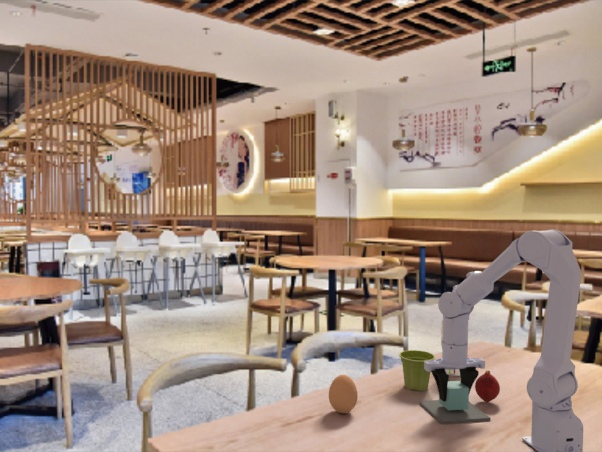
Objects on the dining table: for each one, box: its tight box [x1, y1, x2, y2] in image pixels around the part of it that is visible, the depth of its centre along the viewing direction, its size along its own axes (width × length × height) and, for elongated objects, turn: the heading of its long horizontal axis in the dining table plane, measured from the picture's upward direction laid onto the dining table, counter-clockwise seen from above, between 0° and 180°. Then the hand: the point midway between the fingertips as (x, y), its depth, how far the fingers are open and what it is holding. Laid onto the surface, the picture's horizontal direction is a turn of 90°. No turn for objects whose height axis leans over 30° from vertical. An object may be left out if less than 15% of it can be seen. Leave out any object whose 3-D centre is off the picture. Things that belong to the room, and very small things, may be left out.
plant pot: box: [398, 349, 436, 392], centre depth 140 cm, size 9×9×9 cm
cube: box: [438, 380, 470, 410], centre depth 124 cm, size 5×5×5 cm
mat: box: [419, 399, 492, 425], centre depth 124 cm, size 12×12×1 cm
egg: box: [328, 374, 358, 415], centre depth 123 cm, size 7×7×9 cm
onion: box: [474, 369, 501, 403], centre depth 130 cm, size 6×6×8 cm
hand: (453, 399), depth 124 cm, fingers closed on cube, 5 cm apart
